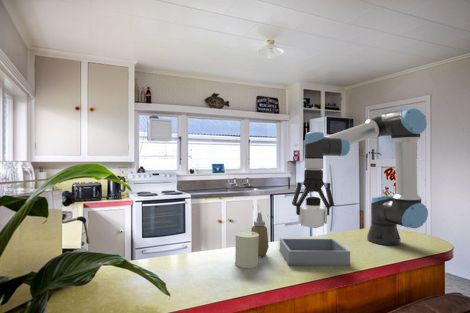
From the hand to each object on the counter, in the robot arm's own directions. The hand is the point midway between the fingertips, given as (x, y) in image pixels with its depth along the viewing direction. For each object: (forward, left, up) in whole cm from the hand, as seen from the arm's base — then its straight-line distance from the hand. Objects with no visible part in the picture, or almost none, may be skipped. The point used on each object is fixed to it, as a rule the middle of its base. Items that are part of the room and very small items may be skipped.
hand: (312, 222), depth 124 cm
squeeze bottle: (+22, -3, -15) cm, 26 cm away
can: (+28, +7, -15) cm, 32 cm away
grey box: (0, 0, -14) cm, 14 cm away
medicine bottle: (0, 0, -1) cm, 1 cm away
